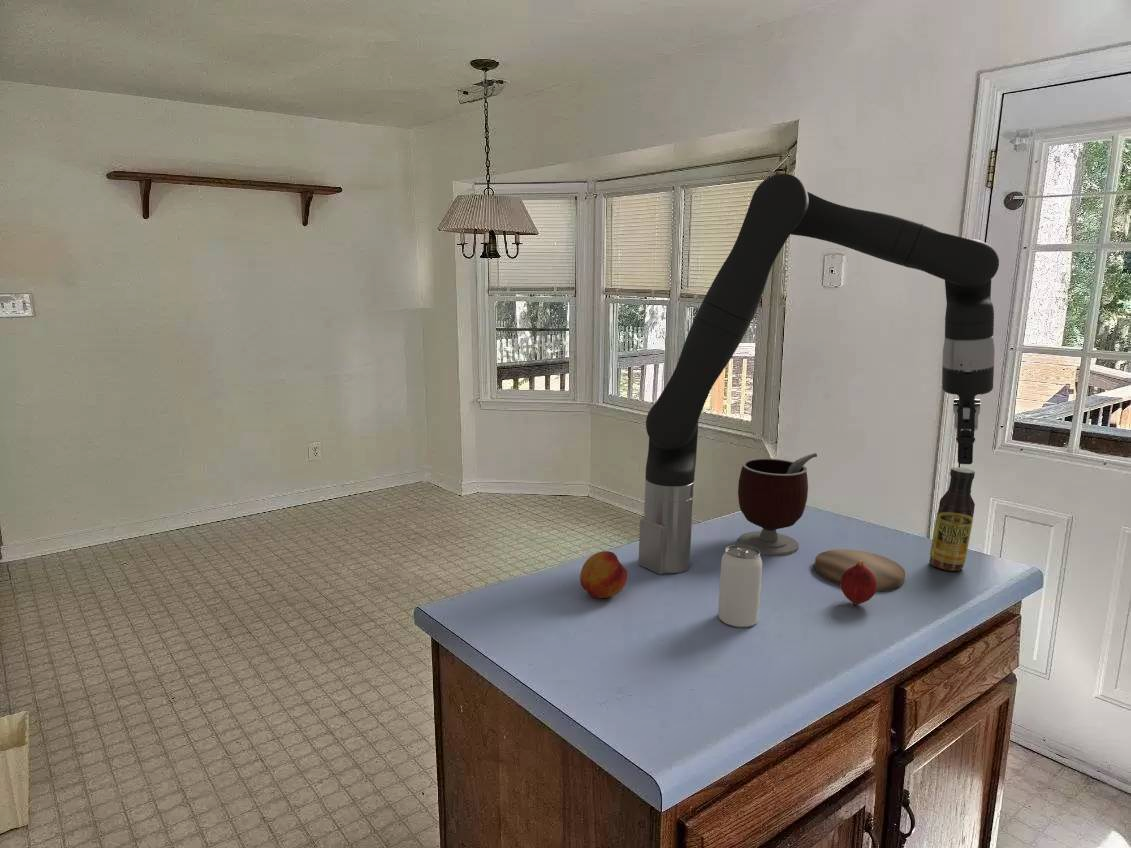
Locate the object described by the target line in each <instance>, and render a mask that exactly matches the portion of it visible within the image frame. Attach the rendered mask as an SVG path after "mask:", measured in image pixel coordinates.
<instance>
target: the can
mask: <svg viewBox="0 0 1131 848" xmlns="http://www.w3.org/2000/svg"><path fill="white" fill-rule="evenodd" d="M762 571H763V560H762V557H761V554H760V551H759V550H758V549H756V548H754V547H751V546H747V545H740V544H732V545H728V546H726V547H725V548H724V553H723V554H722V557H721V563H720V577H719V579H720V580H719V595H718V608H717V609H718V611H717V616H718V618H719V620H720V621H721V622H722V623H723V622H724V623H723V624H725V625H727V626H730V627H734V628H738V627H739V628H740V629H745V628H751V627H753V626H754V625H756V624H757V623H758V620H759V614H760V613H759V611H760V601H761V599H760V598H761V587H762V575H763V574H762ZM739 628H738V629H739Z"/></svg>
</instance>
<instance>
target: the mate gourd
mask: <svg viewBox="0 0 1131 848" xmlns="http://www.w3.org/2000/svg"><path fill="white" fill-rule="evenodd" d="M817 457H818V455H817V452H813V453H810V454H807V455H804V456H803V457H800V458H798V459H796V460H795V461H793V460H792V461H791V460H786V459H780V458H766V457H764V458H763V457H762V458H752V459H747V460H745V461H743V462H742V466H741V469H740V474H739V478H738V488H737V497H738V506H739V509H740V511H741V513H742V515H743V516H744V517H745V519H746V520H747V522H749V523H750V524H753V525H755V526H758V527H760V528H762V530H761V531H759V530H758V531H757V530H755V531H747V532H745V533H742V534H740V535H739V537H738V545H747V546H751V547H754V548H756V549H758V550H759V551H760V555H767V556H776V557H777V556H779V557H780V555H782V556H789V555H793V554H795V553H797V552H798V551H797V550H799V549H798V548H799V547H800V544H799V542H798V540H796V539H795V538H793V537H791V536H789V535H786V534H783V533H778V532H777V530H781V529H784V528H790V527H792V526H794V525H795V524H796V523H797V522H798V521H799V520H800V518H802V516H803V515H804V511H805V509H806V505H807V502H808V501H807V500H808V494H809V483H808V482H809V481H808V473H807V472H808V469H807V467H806V466H805V465H806V463H808V462H809V461H810V460H811V459H813V458H817ZM796 551H797V552H796ZM794 552H795V553H794ZM792 553H793V554H792Z"/></svg>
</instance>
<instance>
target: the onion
mask: <svg viewBox="0 0 1131 848" xmlns="http://www.w3.org/2000/svg"><path fill="white" fill-rule="evenodd" d="M839 586H840V589H841V591H842V594H843V595H844V596H845V598H846V599H848V600H849V601H850V602H851V603H852V604H853V605H856V606H857V605H861V604H864V603H866V602H868V601H869V600H871V599H873V597H874V596H875V594H876V592H877V591H876V588H877V584H876V579H875V576H874V575H873V573H872V572H871V571H870V570H869V569H868V568H866V567H865V566H864V562H863V561H861V560H859V561H858V562H857V564H856V565H855V566H853V567H851V568H849V569H847V570H846V571H845V572H844V573H843V575H842V577H841V583H840V585H839Z"/></svg>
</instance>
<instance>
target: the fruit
mask: <svg viewBox="0 0 1131 848" xmlns="http://www.w3.org/2000/svg"><path fill="white" fill-rule="evenodd" d="M628 577H629V576H628V570H627V569H626V568H625V567H624V566H623V564H622V562H620V561H619V559H618V557H617V554H616V553H614V552H612V551H608V550H607V551H599V552H596V553H594V554H593V555H591V556H589V557H588V559H587V560H586V561H585V562H584V564H583V565H582V567H581V571H580V576H579V579H580V580H579V582H580V586H581V587H582V588H583V589H584V590H585V591H586V592H587V593H588V594H589V595H590V596H591V597H594V598H597V599H606V598H611V597H613V596H616V595H617V594H619V593H620V592H622V590H623V589H624V587H625V586H626V582H627V581H628Z"/></svg>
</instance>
